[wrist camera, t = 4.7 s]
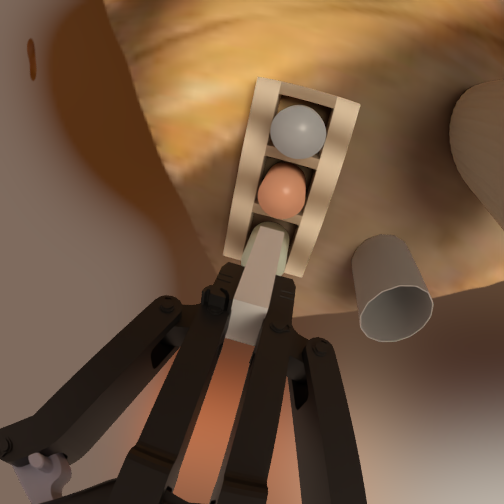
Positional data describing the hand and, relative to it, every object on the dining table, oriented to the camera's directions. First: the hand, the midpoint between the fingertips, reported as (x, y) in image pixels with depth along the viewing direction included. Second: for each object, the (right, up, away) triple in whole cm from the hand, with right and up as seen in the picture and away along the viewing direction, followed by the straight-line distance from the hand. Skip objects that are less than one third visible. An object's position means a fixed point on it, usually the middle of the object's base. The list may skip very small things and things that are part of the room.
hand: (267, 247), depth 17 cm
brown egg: (+3, +7, +12) cm, 14 cm away
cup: (+16, -2, +16) cm, 23 cm away
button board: (+3, +8, +13) cm, 16 cm away
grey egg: (+4, +12, +7) cm, 14 cm away
